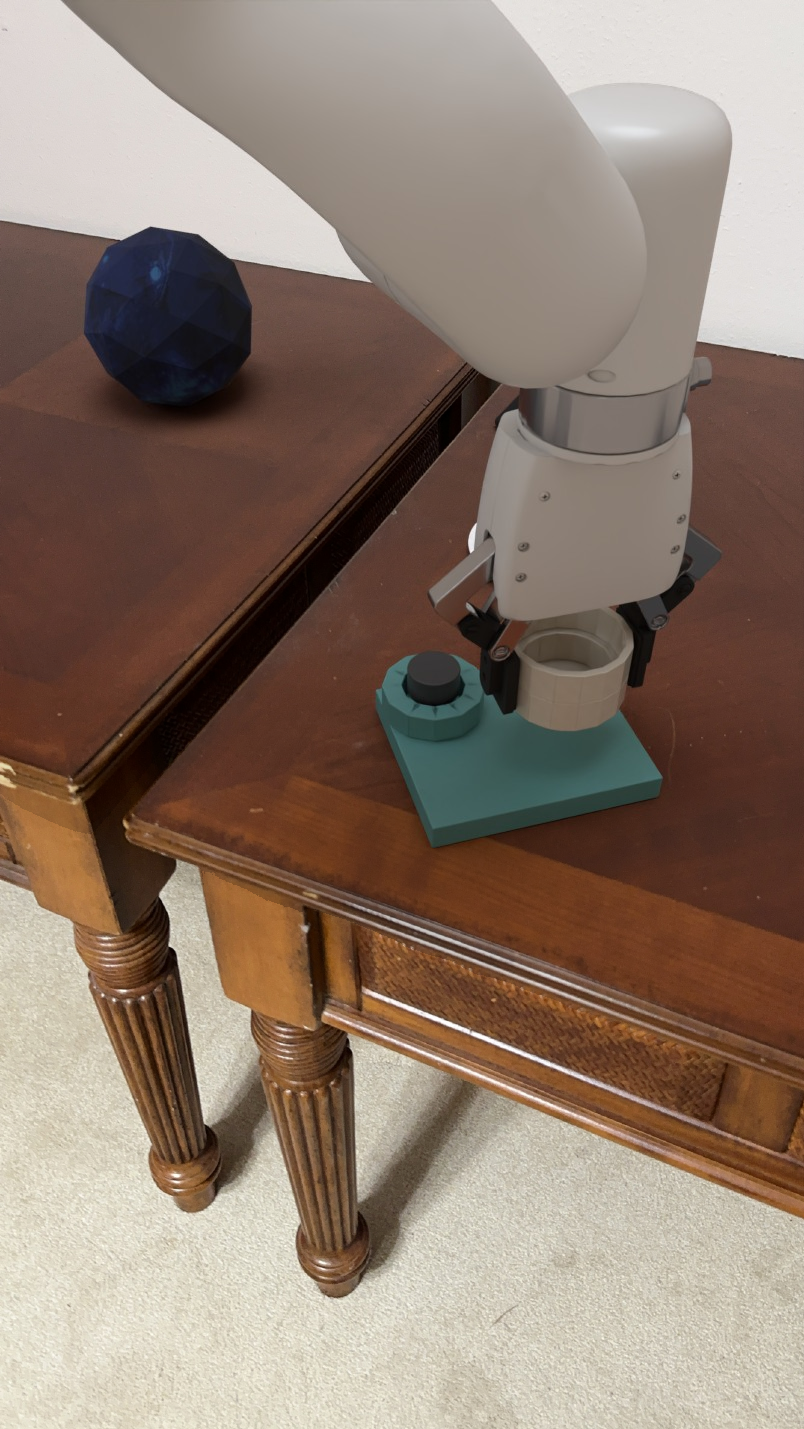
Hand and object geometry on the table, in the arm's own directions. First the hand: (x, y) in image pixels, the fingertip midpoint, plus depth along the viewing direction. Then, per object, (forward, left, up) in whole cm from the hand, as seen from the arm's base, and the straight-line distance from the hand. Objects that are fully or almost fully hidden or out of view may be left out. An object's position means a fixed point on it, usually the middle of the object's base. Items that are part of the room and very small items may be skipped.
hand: (563, 683), depth 63 cm
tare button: (-6, +5, -3) cm, 9 cm away
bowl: (0, 0, -1) cm, 1 cm away
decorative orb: (-15, +53, -7) cm, 56 cm away
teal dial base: (-2, +1, -6) cm, 7 cm away
